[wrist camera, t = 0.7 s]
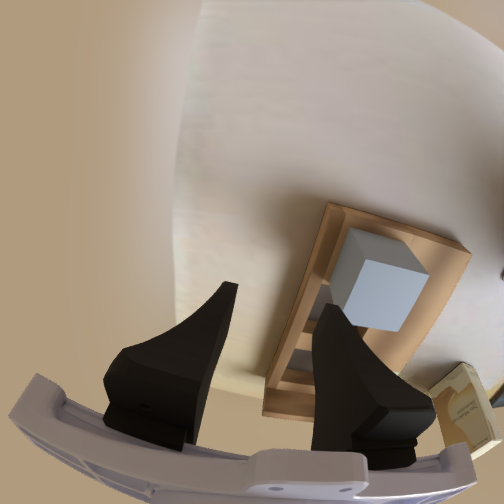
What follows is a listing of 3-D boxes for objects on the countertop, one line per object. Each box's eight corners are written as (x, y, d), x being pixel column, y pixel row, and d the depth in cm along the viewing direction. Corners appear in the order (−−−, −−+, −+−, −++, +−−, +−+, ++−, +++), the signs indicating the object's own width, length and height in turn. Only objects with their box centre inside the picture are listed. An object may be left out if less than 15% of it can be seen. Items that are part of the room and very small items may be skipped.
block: (404, 242, 19) (429, 275, 15) (381, 293, 21) (397, 332, 17) (349, 226, 19) (365, 259, 15) (328, 282, 21) (337, 322, 17)
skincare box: (461, 360, 26) (494, 438, 16) (475, 367, 27) (505, 438, 16) (426, 391, 29) (448, 468, 18) (442, 396, 30) (463, 466, 19)
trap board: (461, 244, 20) (490, 273, 16) (370, 391, 29) (377, 425, 25) (327, 201, 20) (340, 228, 16) (265, 378, 29) (261, 415, 25)
